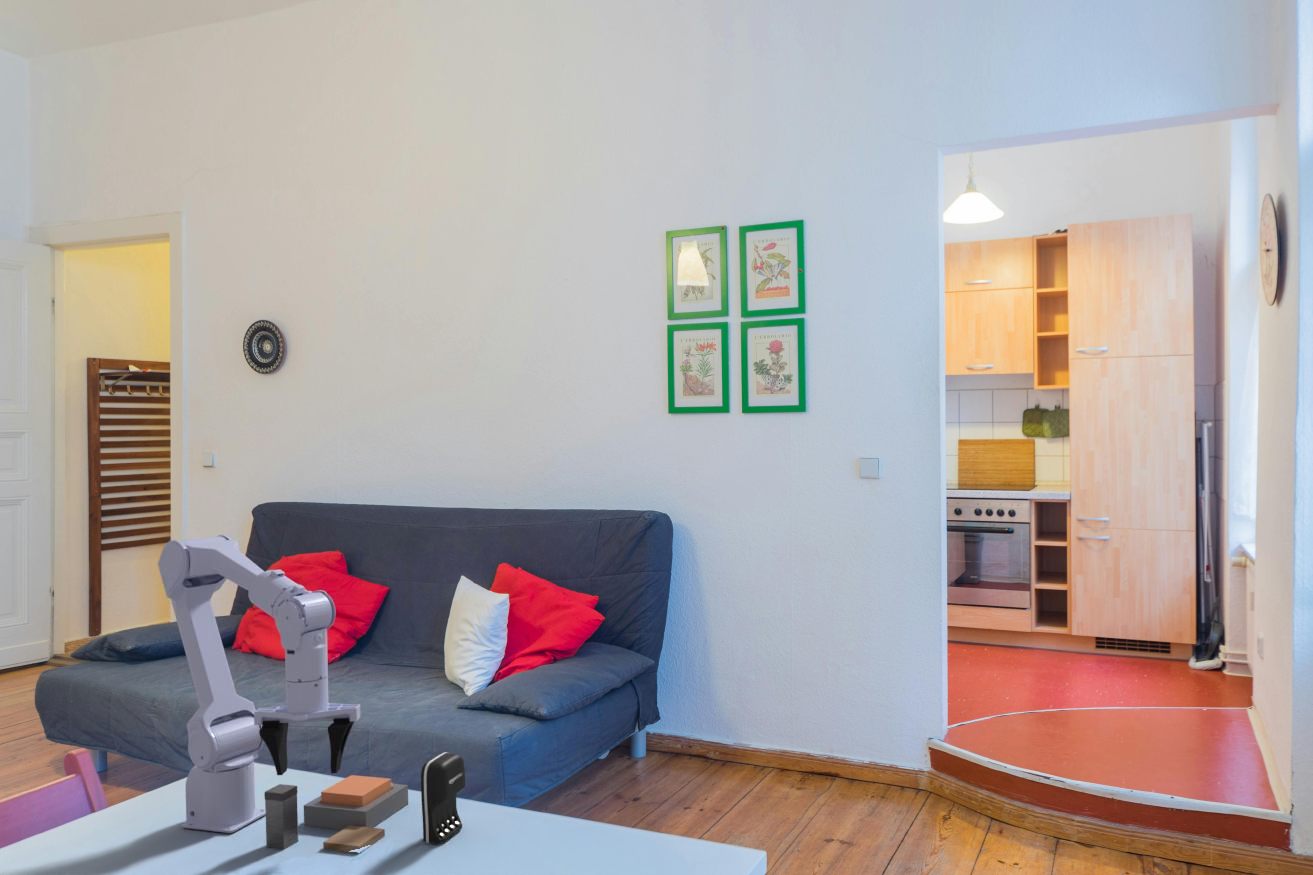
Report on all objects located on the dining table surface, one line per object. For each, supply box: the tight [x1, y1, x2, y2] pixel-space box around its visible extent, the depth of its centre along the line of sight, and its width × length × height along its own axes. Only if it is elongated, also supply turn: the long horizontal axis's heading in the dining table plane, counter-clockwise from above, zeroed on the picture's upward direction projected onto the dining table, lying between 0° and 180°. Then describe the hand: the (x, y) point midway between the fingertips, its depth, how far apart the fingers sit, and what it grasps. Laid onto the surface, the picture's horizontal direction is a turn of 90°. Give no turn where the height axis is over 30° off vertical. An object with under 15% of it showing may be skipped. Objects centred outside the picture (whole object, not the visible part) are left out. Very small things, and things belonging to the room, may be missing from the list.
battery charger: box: [420, 751, 466, 845], centre depth 132 cm, size 7×4×11 cm, turn 161°
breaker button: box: [320, 774, 392, 807], centre depth 142 cm, size 7×7×2 cm
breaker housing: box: [303, 782, 409, 830], centre depth 142 cm, size 11×11×3 cm
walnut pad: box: [322, 825, 386, 853], centre depth 131 cm, size 6×6×1 cm
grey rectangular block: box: [263, 783, 299, 851], centre depth 132 cm, size 3×3×8 cm
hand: (308, 771), depth 132 cm, fingers open, 7 cm apart
